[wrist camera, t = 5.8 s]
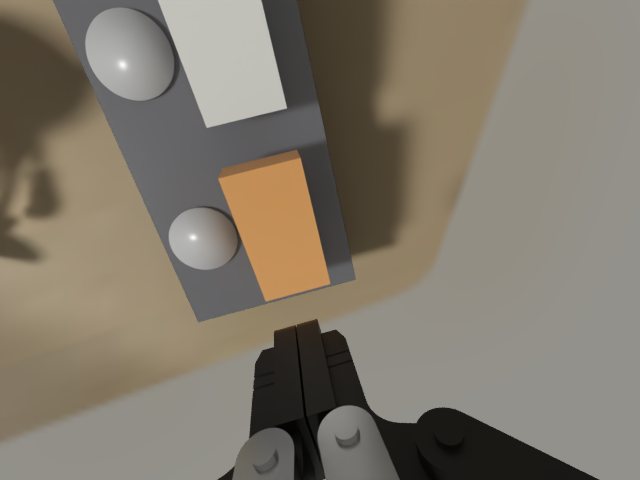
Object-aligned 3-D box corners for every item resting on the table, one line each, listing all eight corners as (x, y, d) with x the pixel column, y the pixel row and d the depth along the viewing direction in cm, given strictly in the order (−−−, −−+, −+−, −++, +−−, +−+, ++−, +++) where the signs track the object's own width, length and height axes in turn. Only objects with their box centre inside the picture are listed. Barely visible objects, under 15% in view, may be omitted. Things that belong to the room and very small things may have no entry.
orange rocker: (222, 168, 14) (217, 178, 13) (296, 149, 15) (300, 157, 13) (265, 283, 18) (265, 301, 17) (325, 267, 18) (330, 284, 17)
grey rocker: (136, -80, 11) (119, -99, 10) (235, -101, 11) (232, -123, 10) (211, 121, 15) (206, 127, 13) (284, 103, 15) (287, 108, 14)
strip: (-45, -316, 12) (-195, -523, 8) (208, -360, 12) (178, -576, 9) (209, 293, 22) (196, 328, 18) (344, 257, 23) (358, 283, 19)
